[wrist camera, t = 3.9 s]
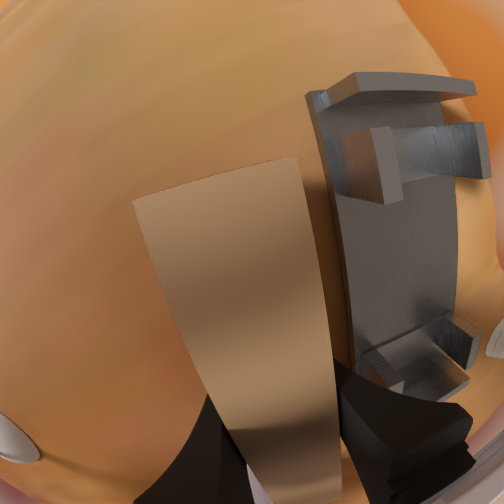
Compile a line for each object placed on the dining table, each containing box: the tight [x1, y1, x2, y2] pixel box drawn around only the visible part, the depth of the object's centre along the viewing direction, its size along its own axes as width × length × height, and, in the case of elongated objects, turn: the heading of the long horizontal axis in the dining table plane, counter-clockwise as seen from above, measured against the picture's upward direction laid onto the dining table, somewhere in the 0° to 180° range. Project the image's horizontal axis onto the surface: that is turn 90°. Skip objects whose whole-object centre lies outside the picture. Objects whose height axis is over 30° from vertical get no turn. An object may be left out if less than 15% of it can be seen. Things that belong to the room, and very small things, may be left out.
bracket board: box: [305, 72, 492, 402], centre depth 14 cm, size 21×9×4 cm, turn 14°
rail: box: [132, 156, 342, 504], centre depth 10 cm, size 17×4×5 cm, turn 14°
